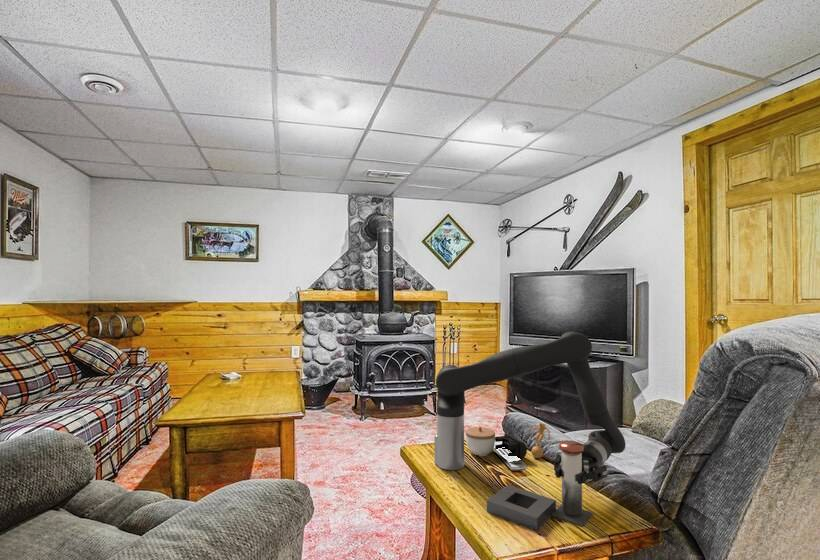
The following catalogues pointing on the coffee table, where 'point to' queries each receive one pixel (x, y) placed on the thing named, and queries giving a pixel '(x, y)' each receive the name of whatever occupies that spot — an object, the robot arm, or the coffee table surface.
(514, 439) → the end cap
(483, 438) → the lidded jar
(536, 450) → the figurine
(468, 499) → the coffee table surface
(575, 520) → the mat
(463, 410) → the robot arm
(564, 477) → the capped metal cylinder
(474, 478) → the coffee table surface
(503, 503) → the bore housing
